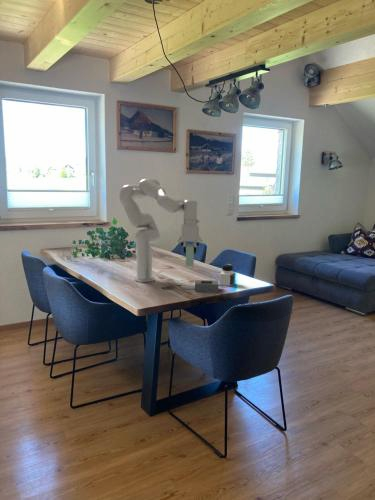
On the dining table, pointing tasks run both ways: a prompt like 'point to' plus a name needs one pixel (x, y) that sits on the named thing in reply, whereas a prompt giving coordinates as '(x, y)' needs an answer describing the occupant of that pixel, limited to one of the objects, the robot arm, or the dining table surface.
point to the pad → (188, 287)
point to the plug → (189, 254)
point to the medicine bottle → (227, 275)
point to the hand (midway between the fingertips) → (189, 253)
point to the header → (206, 286)
